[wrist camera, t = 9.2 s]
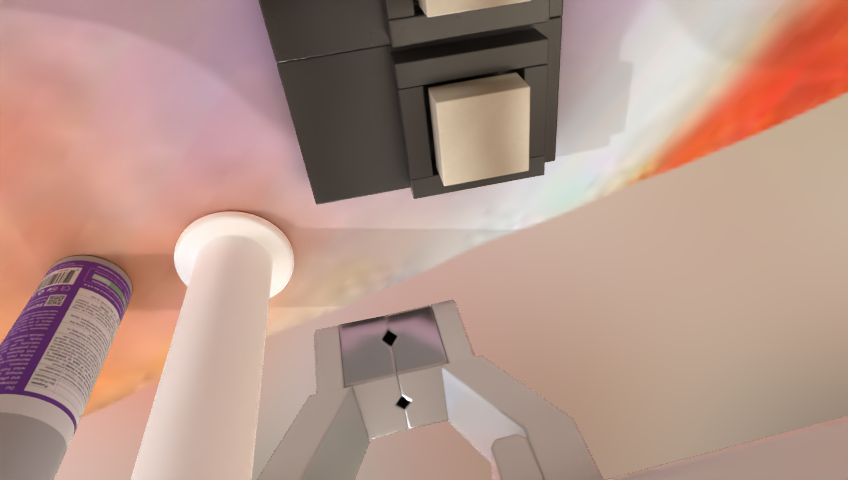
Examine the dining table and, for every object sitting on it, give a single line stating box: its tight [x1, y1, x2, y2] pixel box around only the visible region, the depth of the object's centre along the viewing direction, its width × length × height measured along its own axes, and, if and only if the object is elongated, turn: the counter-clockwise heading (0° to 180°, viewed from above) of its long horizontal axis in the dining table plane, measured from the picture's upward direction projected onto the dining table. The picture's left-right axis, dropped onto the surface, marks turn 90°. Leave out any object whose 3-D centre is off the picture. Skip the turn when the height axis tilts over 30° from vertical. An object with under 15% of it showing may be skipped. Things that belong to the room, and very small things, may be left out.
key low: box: [428, 72, 530, 186], centre depth 25 cm, size 4×4×2 cm
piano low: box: [277, 16, 562, 204], centre depth 27 cm, size 14×8×4 cm, turn 96°
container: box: [0, 255, 133, 480], centre depth 26 cm, size 5×5×15 cm
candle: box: [131, 211, 294, 480], centre depth 23 cm, size 7×7×25 cm
